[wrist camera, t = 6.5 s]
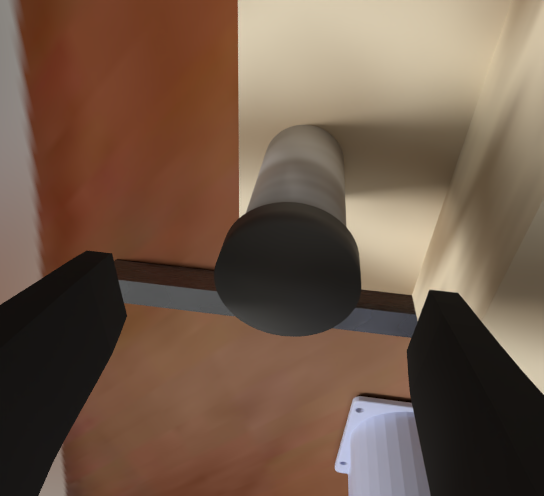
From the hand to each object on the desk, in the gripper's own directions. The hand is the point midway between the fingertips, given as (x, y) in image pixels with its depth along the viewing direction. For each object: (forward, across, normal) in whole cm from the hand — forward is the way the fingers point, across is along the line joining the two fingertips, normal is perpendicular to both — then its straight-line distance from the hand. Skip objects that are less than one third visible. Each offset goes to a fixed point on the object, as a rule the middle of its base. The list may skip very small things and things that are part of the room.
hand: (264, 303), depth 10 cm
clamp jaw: (+9, -4, 0) cm, 10 cm away
